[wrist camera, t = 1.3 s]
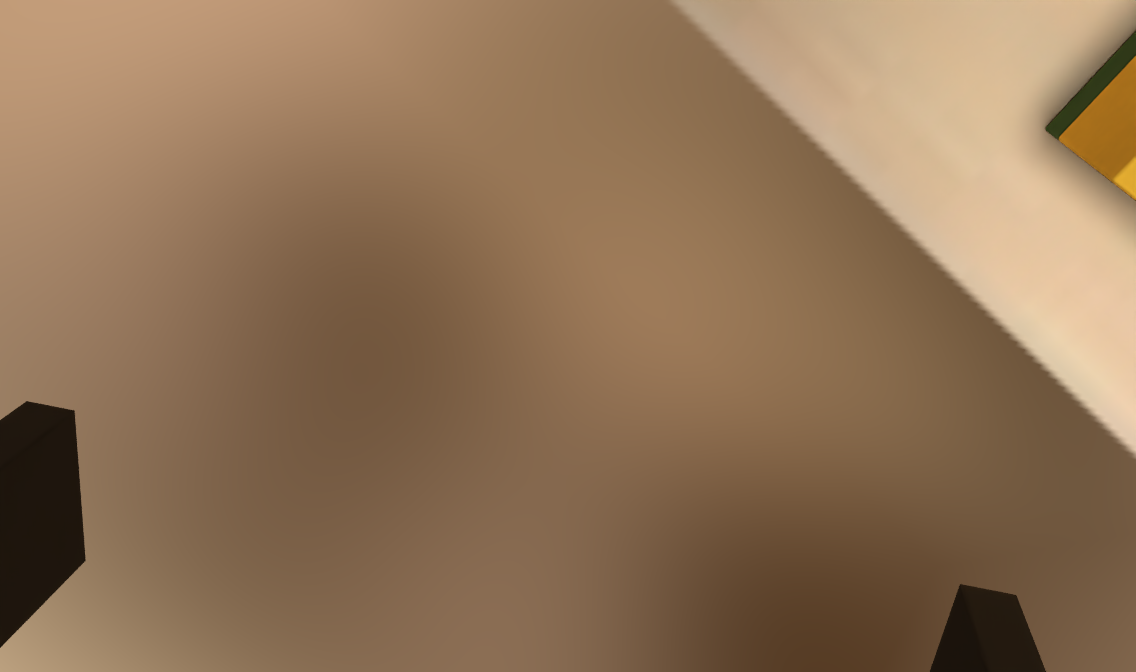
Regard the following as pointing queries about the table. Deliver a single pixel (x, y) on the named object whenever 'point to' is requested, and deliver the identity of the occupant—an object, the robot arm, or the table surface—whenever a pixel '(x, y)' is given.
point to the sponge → (1105, 120)
